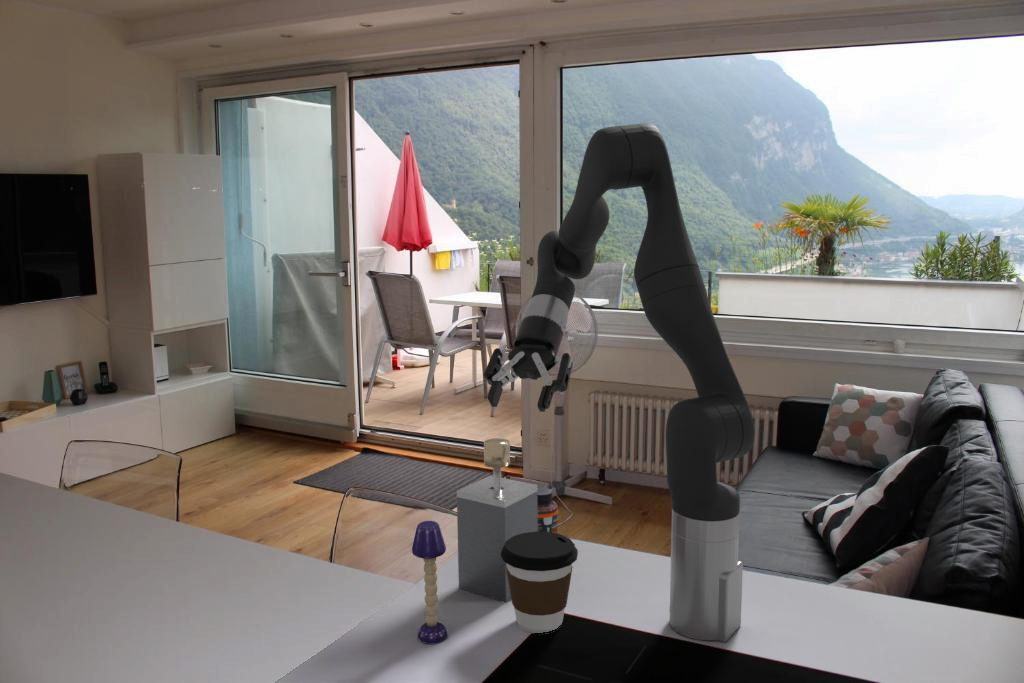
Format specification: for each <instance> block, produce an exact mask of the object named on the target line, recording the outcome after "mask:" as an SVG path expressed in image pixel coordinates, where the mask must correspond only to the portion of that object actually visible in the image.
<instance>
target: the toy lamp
mask: <svg viewBox="0 0 1024 683" xmlns="http://www.w3.org/2000/svg"><path fill="white" fill-rule="evenodd" d="M413 537H414V538H413V542H412V547H411V553H412V554H413V556H414V557H416V558H420V559H423V562H424V564H423V571H424V575H423V577H424V579H423V580H424V583H425V584H424V592H425V596H424V602H425V608H424V610H425V614H426V616H425V623H423V624H422V625H420V627H419V629H418V631H417V639H418V640H419V642H422V643H423V644H429V645H430V644H431V645H432V644H440V643H441V642H444V641H446V640H447V638H448V637H449V632H448V628H447V627H446V625H444V624H443V623H442V622H441V621H439V615H438V611H439V606H438V599H439V598H438V593H437V592H438V583H437V581H438V574H437V573H436V572H437V569H438V568H437V567H438V566H437V563H436V561H437V558H439V557H442V556H443V555H445V552H447V547H446V542H445V539H444V536H443V533H442V529H441V527H440V524H439V523H438V522H437V521H434V520H426V521H425V520H424V521H422V522H418V524H417V525H416V529H415V533H414V536H413Z"/></svg>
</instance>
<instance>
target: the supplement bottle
mask: <svg viewBox="0 0 1024 683" xmlns="http://www.w3.org/2000/svg"><path fill="white" fill-rule="evenodd" d="M537 509H538V532H551V533H556V534H559V530H558V529H559V521H558V520H559V513H558V512H559V507H558V504H557V503H556V502H555V501H554V500H553V490H552V489H550V488H549V487H537Z"/></svg>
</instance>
